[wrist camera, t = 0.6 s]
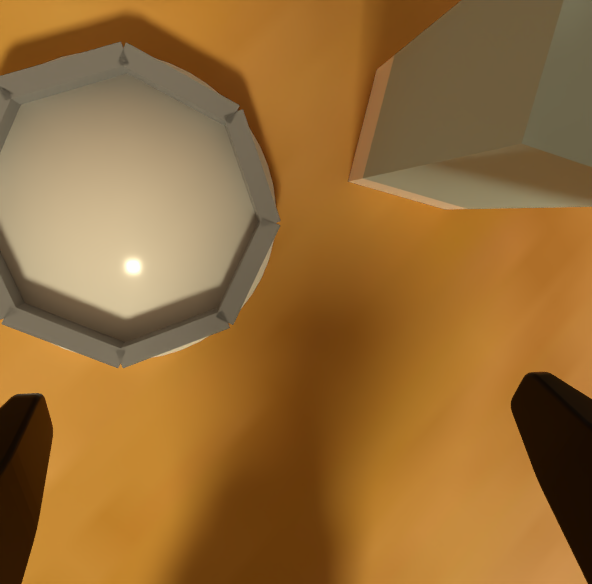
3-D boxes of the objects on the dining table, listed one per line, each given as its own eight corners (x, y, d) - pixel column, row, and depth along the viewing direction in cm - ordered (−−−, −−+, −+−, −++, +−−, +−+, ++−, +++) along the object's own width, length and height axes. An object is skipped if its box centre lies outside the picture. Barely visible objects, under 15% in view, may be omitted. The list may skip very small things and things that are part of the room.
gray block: (444, 209, 23) (703, 204, 11) (348, 181, 21) (521, 143, 10) (474, 103, 22) (779, -19, 10) (376, 69, 21) (596, -111, 9)
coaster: (310, 298, 22) (318, 304, 21) (43, 399, 20) (31, 413, 19) (216, 17, 19) (217, 1, 18) (-100, 107, 18) (-127, 98, 16)
